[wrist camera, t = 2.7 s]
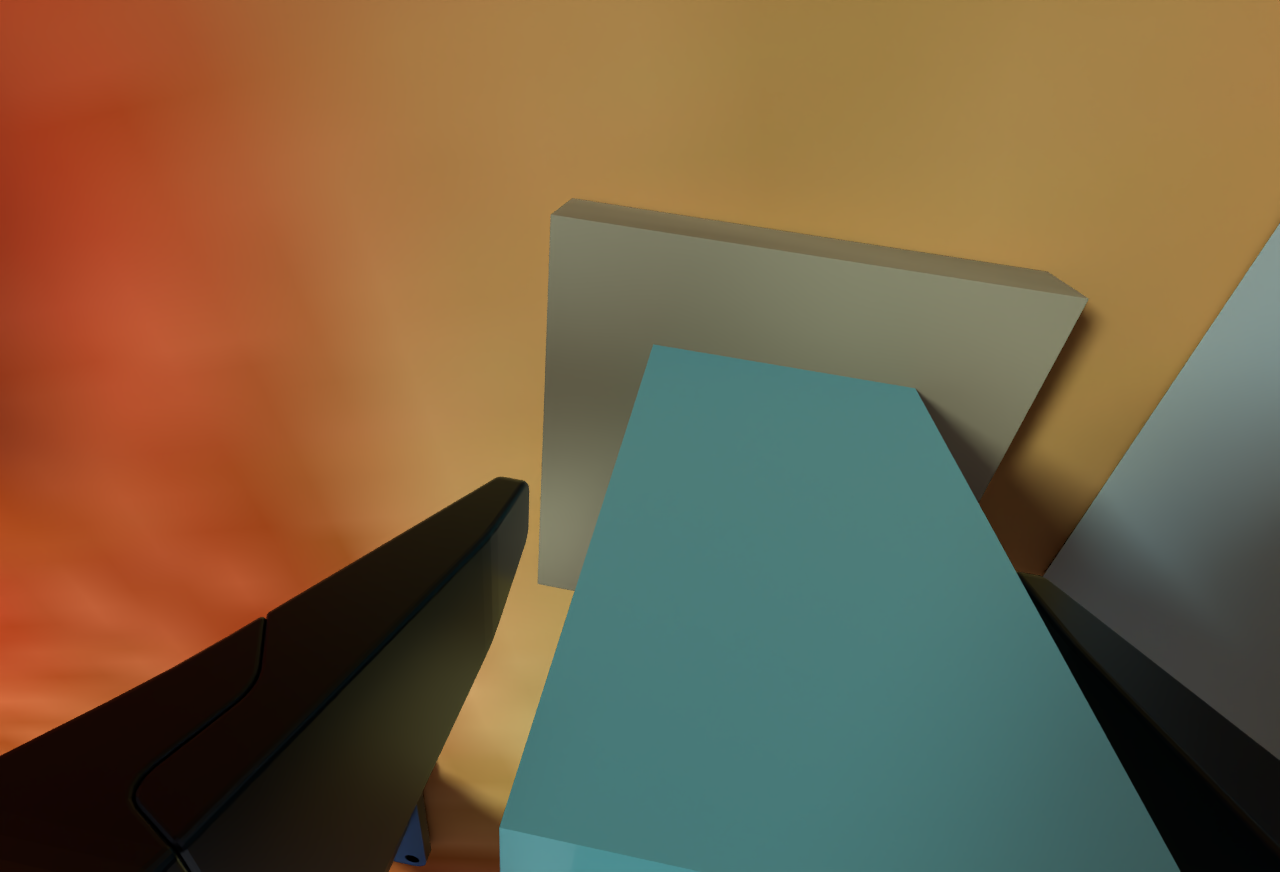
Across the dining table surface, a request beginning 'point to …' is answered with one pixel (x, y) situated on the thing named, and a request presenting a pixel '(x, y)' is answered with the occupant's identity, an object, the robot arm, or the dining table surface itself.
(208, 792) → the robot arm
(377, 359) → the dining table surface
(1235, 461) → the socket block
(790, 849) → the plug
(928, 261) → the beige square plate
